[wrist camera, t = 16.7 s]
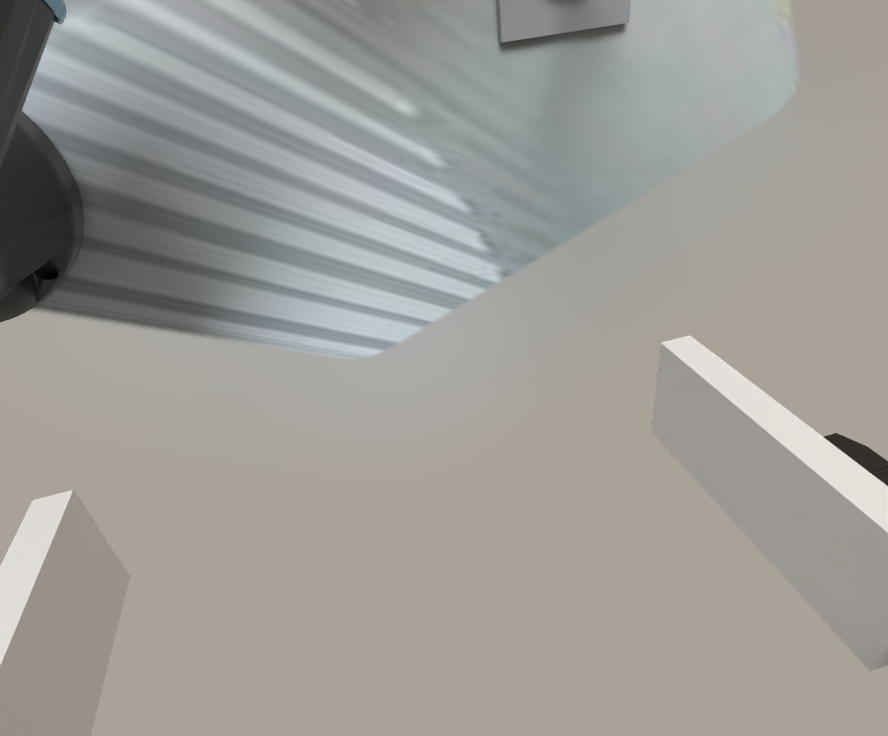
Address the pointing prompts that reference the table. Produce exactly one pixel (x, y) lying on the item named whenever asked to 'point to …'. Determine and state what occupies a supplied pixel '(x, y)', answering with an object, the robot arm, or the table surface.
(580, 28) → the pad slate
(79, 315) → the table surface
